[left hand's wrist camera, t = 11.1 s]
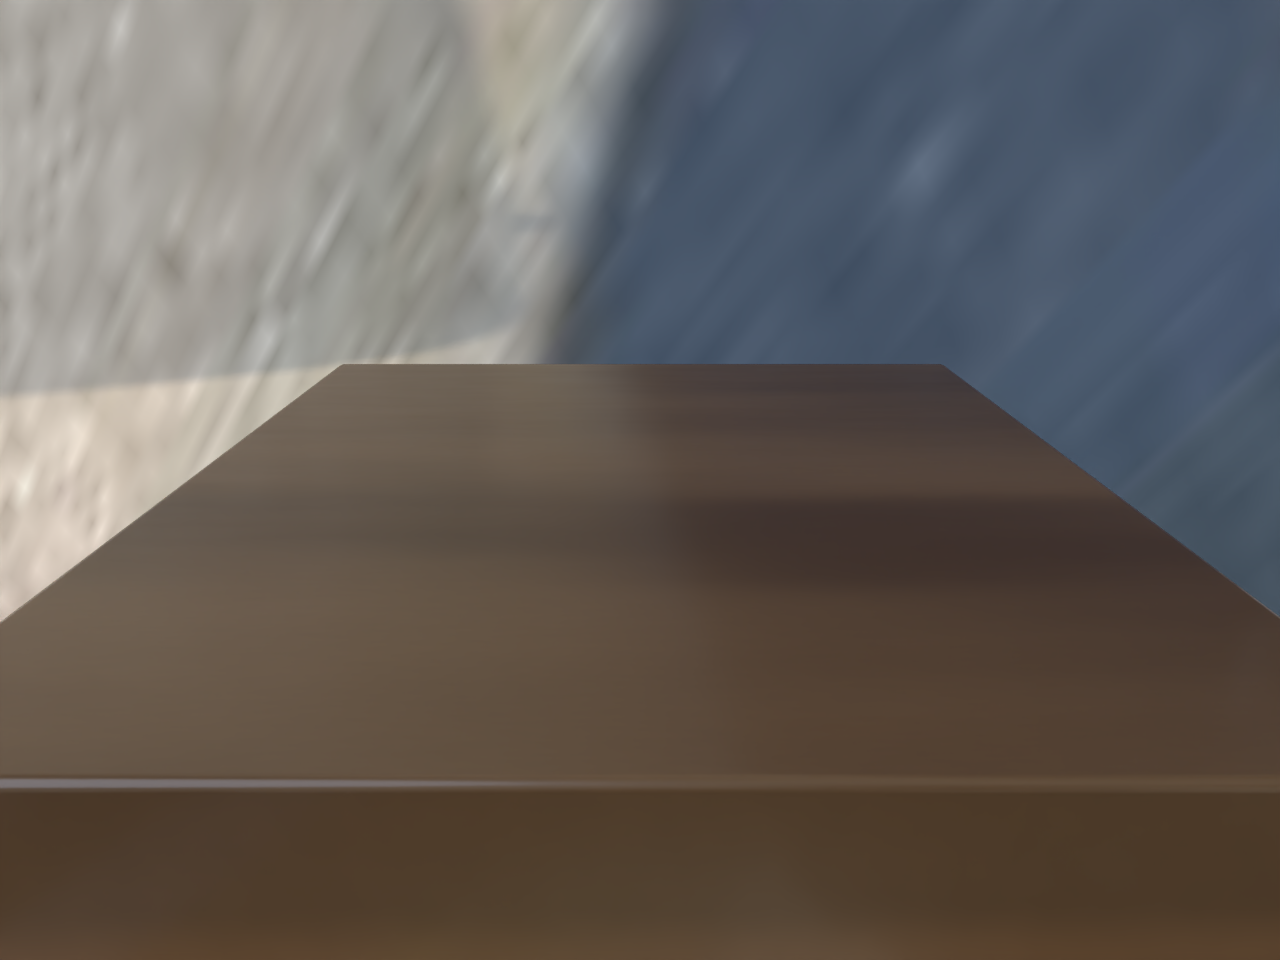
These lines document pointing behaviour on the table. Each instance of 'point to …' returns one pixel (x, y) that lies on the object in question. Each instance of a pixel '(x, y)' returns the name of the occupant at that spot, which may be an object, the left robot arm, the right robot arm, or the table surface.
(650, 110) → the table surface
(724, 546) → the box
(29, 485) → the table surface
